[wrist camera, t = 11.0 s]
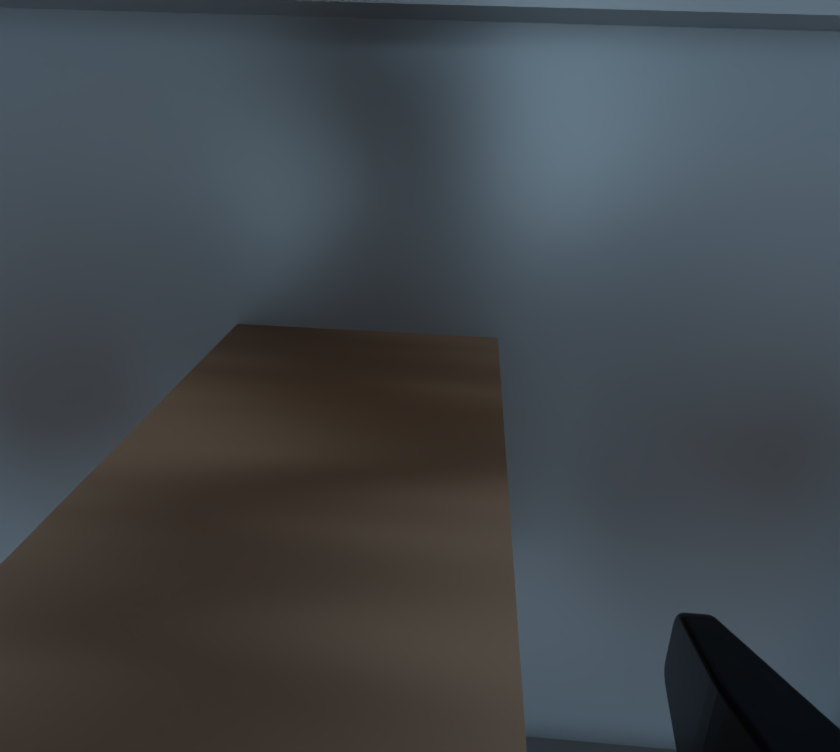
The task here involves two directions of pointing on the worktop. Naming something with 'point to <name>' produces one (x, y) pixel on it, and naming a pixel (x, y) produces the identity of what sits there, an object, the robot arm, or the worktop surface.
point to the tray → (469, 281)
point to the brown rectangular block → (281, 562)
